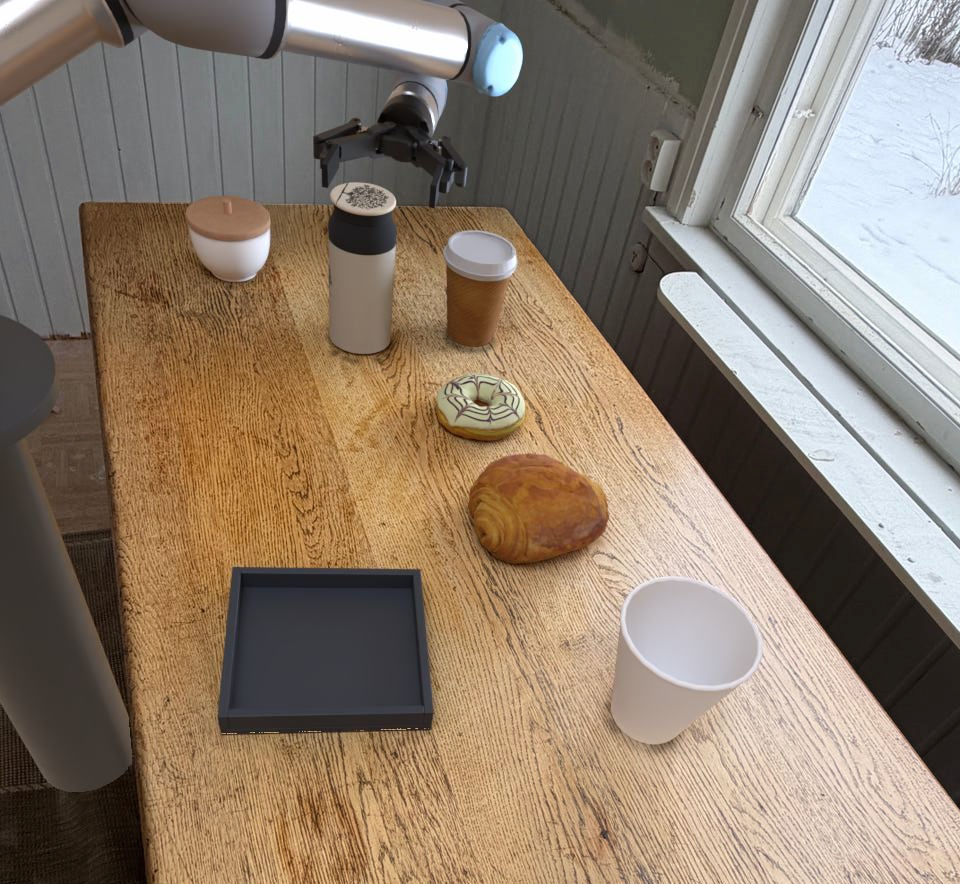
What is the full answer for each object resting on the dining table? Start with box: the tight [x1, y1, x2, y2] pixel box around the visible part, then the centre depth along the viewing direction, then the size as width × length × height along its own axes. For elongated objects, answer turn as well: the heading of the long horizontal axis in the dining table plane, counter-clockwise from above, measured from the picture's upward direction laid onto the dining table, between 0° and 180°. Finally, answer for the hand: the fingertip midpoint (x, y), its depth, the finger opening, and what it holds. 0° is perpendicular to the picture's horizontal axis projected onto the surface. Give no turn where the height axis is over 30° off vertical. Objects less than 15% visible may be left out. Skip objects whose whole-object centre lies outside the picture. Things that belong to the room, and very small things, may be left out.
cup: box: [610, 575, 763, 746], centre depth 70 cm, size 12×12×12 cm
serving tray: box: [216, 566, 435, 736], centre depth 73 cm, size 18×17×3 cm
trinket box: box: [185, 195, 271, 283], centre depth 108 cm, size 11×11×9 cm
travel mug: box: [327, 181, 398, 355], centre depth 99 cm, size 8×8×18 cm
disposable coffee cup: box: [442, 229, 519, 347], centre depth 106 cm, size 10×10×12 cm
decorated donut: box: [435, 373, 526, 442], centre depth 97 cm, size 10×11×4 cm
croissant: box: [467, 452, 610, 565], centre depth 86 cm, size 14×16×8 cm
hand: (378, 186), depth 100 cm, fingers open, 13 cm apart
